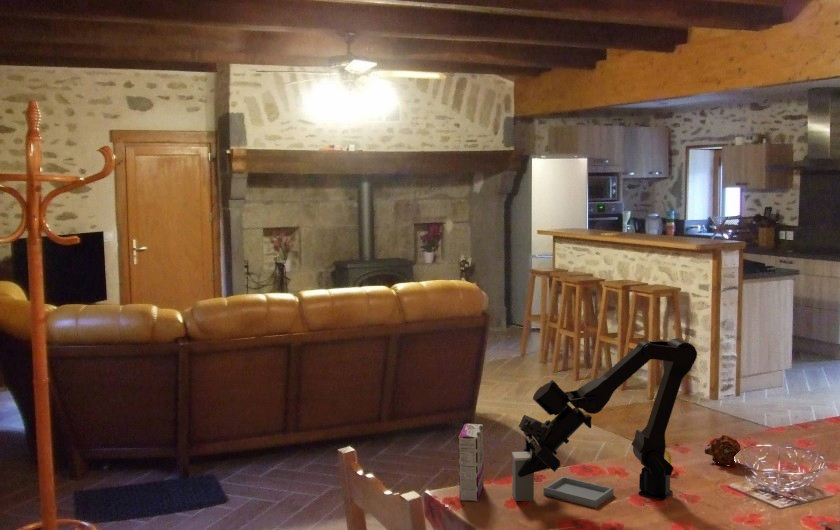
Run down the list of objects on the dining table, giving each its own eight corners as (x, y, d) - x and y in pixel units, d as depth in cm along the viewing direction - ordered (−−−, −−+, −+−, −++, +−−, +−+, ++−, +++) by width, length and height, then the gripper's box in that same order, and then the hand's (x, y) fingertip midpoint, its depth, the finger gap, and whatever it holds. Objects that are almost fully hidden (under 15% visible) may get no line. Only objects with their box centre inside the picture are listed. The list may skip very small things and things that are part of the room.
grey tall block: (530, 494, 202) (530, 451, 201) (534, 501, 198) (534, 457, 197) (511, 494, 202) (511, 451, 201) (515, 502, 197) (515, 458, 196)
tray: (613, 495, 201) (613, 488, 201) (595, 507, 193) (595, 500, 193) (563, 483, 210) (563, 476, 210) (543, 494, 202) (543, 487, 202)
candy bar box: (464, 484, 209) (464, 422, 208) (484, 486, 208) (483, 423, 207) (458, 501, 198) (457, 435, 197) (478, 502, 197) (478, 436, 196)
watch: (654, 473, 217) (653, 451, 216) (648, 470, 220) (647, 448, 219) (673, 469, 219) (672, 448, 218) (667, 466, 222) (666, 445, 221)
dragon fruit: (733, 477, 217) (712, 469, 229) (756, 457, 218) (733, 449, 230) (714, 452, 217) (694, 445, 228) (737, 432, 218) (716, 426, 230)
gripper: (532, 395, 207) (489, 438, 208) (546, 415, 189) (499, 463, 189) (562, 424, 208) (519, 467, 209) (579, 447, 190) (533, 494, 190)
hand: (517, 472), depth 199 cm, fingers closed on grey tall block, 4 cm apart
